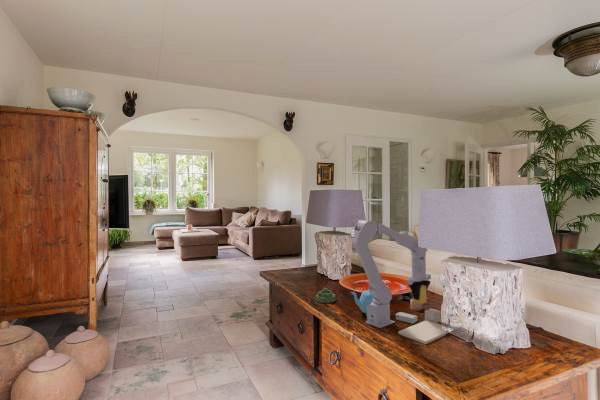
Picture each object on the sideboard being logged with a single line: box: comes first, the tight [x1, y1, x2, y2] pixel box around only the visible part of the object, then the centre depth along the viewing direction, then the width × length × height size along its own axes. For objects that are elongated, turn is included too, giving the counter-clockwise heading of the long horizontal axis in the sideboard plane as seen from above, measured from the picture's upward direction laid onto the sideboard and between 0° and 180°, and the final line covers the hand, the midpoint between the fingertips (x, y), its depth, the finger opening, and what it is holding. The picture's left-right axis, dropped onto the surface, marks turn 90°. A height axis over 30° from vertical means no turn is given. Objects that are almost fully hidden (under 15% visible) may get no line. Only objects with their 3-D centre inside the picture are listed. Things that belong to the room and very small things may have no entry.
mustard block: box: [413, 285, 428, 305], centre depth 148 cm, size 4×4×7 cm
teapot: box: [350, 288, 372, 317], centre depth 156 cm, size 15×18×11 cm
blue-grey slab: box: [394, 311, 418, 325], centre depth 146 cm, size 8×4×2 cm, turn 44°
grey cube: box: [424, 308, 442, 324], centre depth 143 cm, size 4×4×4 cm
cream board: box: [397, 319, 448, 345], centre depth 132 cm, size 18×12×1 cm, turn 125°
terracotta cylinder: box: [409, 299, 423, 311], centre depth 159 cm, size 5×5×4 cm
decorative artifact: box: [315, 286, 336, 304], centre depth 178 cm, size 10×7×10 cm
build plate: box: [396, 291, 413, 303], centre depth 173 cm, size 12×7×5 cm, turn 52°
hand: (419, 298), depth 148 cm, fingers closed on mustard block, 4 cm apart
